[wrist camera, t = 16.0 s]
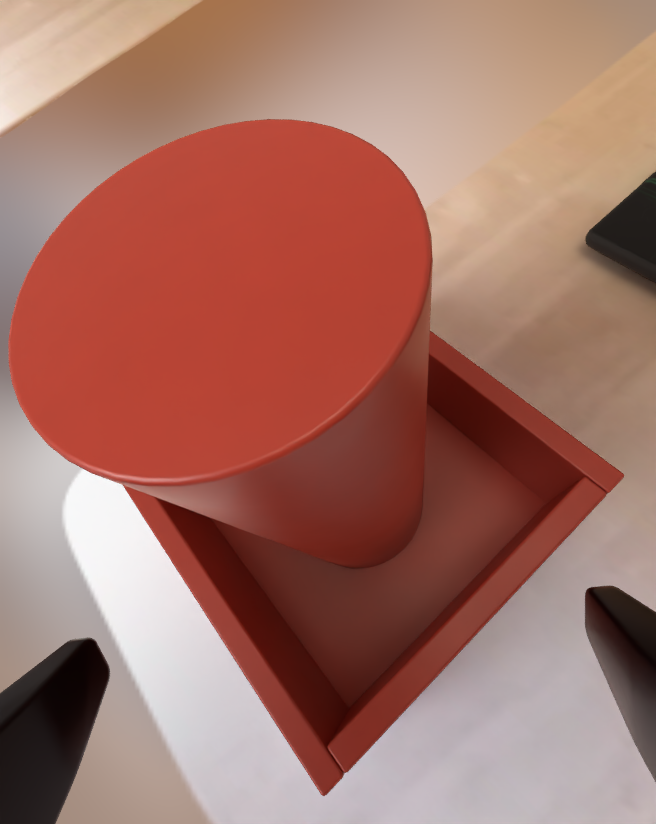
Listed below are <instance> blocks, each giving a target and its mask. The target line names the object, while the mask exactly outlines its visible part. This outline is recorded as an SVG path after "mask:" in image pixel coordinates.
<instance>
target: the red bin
mask: <svg viewBox="0 0 656 824" xmlns="http://www.w3.org/2000/svg"><path fill="white" fill-rule="evenodd" d="M623 477H624V474H623V473H621V472H620V471H619V470H617V469H616V468H615V467H613V466H612V465H611V464H609V463H608V462H607V461H605V460H604V459H602V458H601V457H600V456H598V455H597V454H596V453H594V452H593V451H592V450H590V449H589V448H588V447H586V446H585V445H584V444H582V443H581V442H580V441H578V440H577V439H576V438H574V437H573V436H571V435H570V434H569V433H567V432H566V431H565V430H563V429H562V428H561V427H559V426H558V425H557V424H555V423H554V422H553V421H551V420H550V419H549V418H547V417H546V416H545V415H543V414H542V413H540V412H539V411H538V410H536V409H535V408H534V407H532V406H531V405H530V404H528V403H527V402H526V401H524V400H523V399H522V398H520V397H519V396H518V395H516V394H515V393H514V392H512V391H511V390H509V389H508V388H507V387H505V386H504V385H503V384H501V383H500V382H499V381H497V380H496V379H495V378H493V377H492V376H491V375H489V374H488V373H487V372H485V371H484V370H483V369H481V368H480V367H478V366H477V365H476V364H474V363H473V362H472V361H470V360H469V359H468V358H466V357H465V356H464V355H462V354H461V353H460V352H458V351H457V350H456V349H454V348H453V347H452V346H450V345H449V344H447V343H446V342H445V341H443V340H442V339H441V338H439V337H438V336H437V335H435V334H434V333H433V332H431V331H430V336H429V361H428V386H427V411H426V435H425V460H424V485H423V507H422V515H421V519H420V523H419V525H418V528H417V531H416V532H415V534H414V536H413V538H412V539H411V541H410V542H409V543H408V545H407V546H406V547H405V548H404V549H403V550H402V551H401V552H400V553H399V554H397V555H396V556H395V557H393V558H392V559H390V560H388V561H386V562H384V563H382V564H379V565H377V566H373V567H368V568H347V567H342V566H339V565H336V564H333V563H330V562H327V561H325V560H322V559H319V558H317V557H314V556H311V555H309V554H306V553H303V552H301V551H298V550H295V549H293V548H290V547H287V546H285V545H282V544H279V543H277V542H274V541H271V540H269V539H266V538H263V537H261V536H258V535H255V534H253V533H250V532H247V531H245V530H242V529H239V528H237V527H234V526H231V525H229V524H226V523H223V522H221V521H218V520H215V519H213V518H210V517H207V516H205V515H202V514H199V513H197V512H194V511H191V510H189V509H186V508H183V507H181V506H178V505H175V504H173V503H170V502H167V501H165V500H162V499H159V498H157V497H154V496H151V495H149V494H146V493H143V492H141V491H138V490H135V489H133V488H130V487H127V486H125V485H123V486H124V488H125V489H126V491H127V492H128V494H129V496H130V497H131V499H132V500H133V502H134V503H135V505H136V507H137V508H138V510H139V511H140V513H141V514H142V516H143V517H144V519H145V521H146V522H147V524H148V525H149V527H150V528H151V530H152V531H153V533H154V535H155V536H156V538H157V539H158V541H159V542H160V544H161V545H162V547H163V549H164V550H165V552H166V553H167V555H168V556H169V558H170V560H171V561H172V563H173V564H174V566H175V567H176V569H177V570H178V572H179V574H180V575H181V577H182V578H183V580H184V581H185V583H186V584H187V586H188V588H189V589H190V591H191V592H192V594H193V595H194V597H195V598H196V600H197V602H198V603H199V605H200V606H201V608H202V609H203V611H204V613H205V614H206V616H207V617H208V619H209V620H210V622H211V623H212V625H213V627H214V628H215V630H216V631H217V633H218V634H219V636H220V637H221V639H222V641H223V642H224V644H225V645H226V647H227V648H228V650H229V651H230V653H231V655H232V656H233V658H234V659H235V661H236V662H237V664H238V665H239V667H240V669H241V670H242V672H243V673H244V675H245V676H246V678H247V680H248V681H249V683H250V684H251V686H252V687H253V689H254V690H255V692H256V694H257V695H258V697H259V698H260V700H261V701H262V703H263V704H264V706H265V708H266V709H267V711H268V712H269V714H270V715H271V717H272V718H273V720H274V722H275V723H276V725H277V726H278V728H279V729H280V731H281V733H282V734H283V736H284V737H285V739H286V740H287V742H288V743H289V745H290V747H291V748H292V750H293V751H294V753H295V754H296V756H297V757H298V759H299V761H300V762H301V764H302V765H303V767H304V768H305V770H306V771H307V773H308V775H309V776H310V778H311V779H312V781H313V782H314V784H315V785H316V787H317V789H318V790H319V792H320V793H321V795H323V796H325V795H327V794H328V793H329V792H330V790H331V789H332V788H333V787H334V786H335V785H336V784H337V783H338V782H339V781H340V780H341V779H342V778H343V775H344V773H346V772H348V771H349V770H350V769H351V768H352V767H353V766H354V765H355V764H356V763H357V762H358V761H359V759H360V758H361V757H362V756H363V755H364V754H365V753H366V752H367V751H368V750H369V749H370V748H371V747H372V746H373V744H374V743H375V742H376V741H377V740H378V739H379V738H380V737H381V736H382V735H383V734H384V733H385V732H386V731H387V730H388V728H389V727H390V726H391V725H392V724H393V723H394V722H395V721H396V720H397V719H398V718H399V717H400V716H401V715H402V713H403V712H404V711H405V710H406V709H407V708H408V707H409V706H410V705H411V704H412V703H413V702H414V701H415V700H416V699H417V697H418V696H419V695H420V694H421V693H422V692H423V691H424V690H425V689H426V688H427V687H428V686H429V685H430V684H431V682H432V681H433V680H434V679H435V678H436V677H437V676H438V675H439V674H440V673H441V672H442V671H443V670H444V669H445V668H446V666H447V665H448V664H449V663H450V662H451V661H452V660H453V659H454V658H455V657H456V656H457V655H458V654H459V653H460V651H461V650H462V649H463V648H464V647H465V646H466V645H467V644H468V643H469V642H470V641H471V640H472V639H473V638H474V637H475V635H476V634H477V633H478V632H479V631H480V630H481V629H482V628H483V627H484V626H485V625H486V624H487V623H488V622H489V620H490V619H491V618H492V617H493V616H494V615H495V614H496V613H497V612H498V611H499V610H500V609H501V608H502V607H503V606H504V604H505V603H506V602H507V601H508V600H509V599H510V598H511V597H512V596H513V595H514V594H515V593H516V592H517V591H518V589H519V588H520V587H521V586H522V585H523V584H524V583H525V582H526V581H527V580H528V579H529V578H530V577H531V576H532V575H533V573H534V572H535V571H536V570H537V569H538V568H539V567H540V566H541V565H542V564H543V563H544V562H545V561H546V560H547V558H548V557H549V556H550V555H551V554H552V553H553V552H554V551H555V550H556V549H557V548H558V547H559V546H560V545H561V544H562V542H563V541H564V540H565V539H566V538H567V537H568V536H569V535H570V534H571V533H572V532H573V531H574V530H575V529H576V527H577V526H578V525H579V524H580V523H581V522H582V521H583V520H584V519H585V518H586V517H587V516H588V515H589V514H590V513H591V511H592V510H593V509H594V508H595V507H596V506H597V505H598V504H599V503H600V502H601V501H602V500H603V499H604V498H605V496H606V494H607V493H609V492H610V491H611V490H612V489H613V488H614V487H615V486H616V485H617V484H618V483H619V482H620V481H621V480H622V479H623Z"/></svg>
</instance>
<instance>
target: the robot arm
mask: <svg viewBox="0 0 656 824" xmlns="http://www.w3.org/2000/svg"><path fill="white" fill-rule="evenodd" d="M585 628H586V632H587V636H588V639H589V641H590V644H591V646H592V648H593V650H594V653H595V655H596V657H597V659H598V662H599V664H600V666H601V669H602V671H603V673H604V675H605V678H606V680H607V682H608V684H609V687H610V689H611V691H612V693H613V696H614V698H615V700H616V703H617V705H618V707H619V709H620V712H621V714H622V716H623V718H624V721H625V723H626V725H627V727H628V730H629V732H630V734H631V736H632V738H633V740H634V743H635V745H636V746H637V748H638V750H639V752H640V754H641V756H642V758H643V760H644V762H645V764H646V765H647V767H648V769H649V771H650V773H651V774H652V776H653V778H654V780H655V782H656V612H655V611H653V610H652V609H650V608H648V607H647V606H645V605H644V604H642V603H641V602H639V601H638V600H636V599H634V598H633V597H631V596H630V595H628V594H627V593H625V592H624V591H622V590H620V589H619V588H617V587H614V586H601V587H591V588H588V589H587V590H586V593H585ZM109 677H110V669H109V665H108V663H107V661H106V659H105V657H104V655H103V654H102V652H101V650H100V648H99V646H98V644H97V642H96V641H95V640H94V639H92V638H80V639H73V640H70V641H68V642H67V643H65V644H64V645H63V646H61V647H60V648H59V649H57V650H56V651H55V652H53V653H52V654H51V655H50V656H48V657H47V658H46V659H44V660H43V661H42V662H41V663H39V664H38V665H37V666H35V667H34V668H33V669H31V670H30V671H29V672H27V673H26V674H25V675H24V676H22V677H21V678H20V679H18V680H17V681H16V682H14V683H13V684H12V685H11V686H9V687H8V688H7V689H5V690H4V691H3V692H1V693H0V824H55V823H56V821H57V819H58V816H59V814H60V812H61V810H62V807H63V805H64V803H65V800H66V798H67V796H68V793H69V791H70V789H71V786H72V784H73V781H74V779H75V776H76V774H77V771H78V769H79V766H80V763H81V760H82V757H83V755H84V752H85V749H86V746H87V743H88V740H89V737H90V734H91V731H92V729H93V726H94V723H95V720H96V717H97V714H98V711H99V708H100V705H101V702H102V699H103V697H104V694H105V691H106V688H107V685H108V682H109Z"/></svg>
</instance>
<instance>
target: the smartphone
mask: <svg viewBox="0 0 656 824" xmlns="http://www.w3.org/2000/svg"><path fill="white" fill-rule="evenodd" d="M586 244H587V245H588V246H589V247H591V248H592V249H594V250H596V251H598V252H600V253H602V254H603V255H605V256H607V257H609V258H611V259H613V260H614V261H616V262H618V263H620V264H622V265H624V266H625V267H627V268H629V269H631V270H633V271H635V272H636V273H638V274H640V275H642V276H644V277H646V278H647V279H649V280H651V281H653V282H655V283H656V172H655V173H653V174H652V175H651V176H650V177H648V178H647V179H646V180H645V181H644V182H643V183H642V184H641V185H640V186H639V187H638V188H637V189H636V190H634V191H633V192H632V193H631V194H630V195H629V196H628V197H627V198H625V199H624V200H623V201H622V202H621V203H620V204H619V205H618V206H616V207H615V208H614V209H613V210H612V211H611V212H610V213H609V214H607V215H606V216H605V217H604V218H603V219H602V220H601V221H600V222H599V223H597V224H596V225H595V226H594V227H593V228H592V229H591V230H590V231H589V232H588V234H587V235H586Z"/></svg>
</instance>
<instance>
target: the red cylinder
mask: <svg viewBox="0 0 656 824" xmlns="http://www.w3.org/2000/svg"><path fill="white" fill-rule="evenodd" d="M432 262H433V259H432V242H431V233H430V229H429V225H428V220H427V216H426V213H425V210H424V208H423V206H422V204H421V201H420V199H419V197H418V194H417V193H416V191H415V189H414V187H413V186H412V185H411V183H410V182H409V180H408V179H407V177H406V176H405V174H404V173H403V171H402V170H401V169H400V168H399V167H398V166H397V165H396V164H395V163H394V162H393V161H392V160H391V159H390V158H389V157H388V156H387V155H385V154H384V153H382V152H381V151H380V150H379V149H377V148H376V147H375V146H373V145H372V144H370V143H368V142H366V141H364V140H362V139H361V138H359V137H357V136H355V135H353V134H351V133H348V132H345V131H342V130H340V129H337V128H334V127H331V126H326V125H322V124H317V123H313V122H306V121H297V120H275V119H267V120H255V121H244V122H239V123H233V124H227V125H222V126H218V127H214V128H210V129H207V130H203V131H200V132H197V133H194V134H191V135H188V136H185V137H183V138H180V139H177V140H175V141H173V142H170V143H168V144H166V145H164V146H161V147H159V148H157V149H155V150H153V151H151V152H149V153H148V154H146V155H144V156H142V157H140V158H138V159H136V160H135V161H133V162H132V163H130V164H129V165H127V166H126V167H124V168H122V169H121V170H119V171H118V172H116V173H115V174H114V175H112V176H111V177H110V178H108V179H107V180H106V181H104V182H103V183H102V184H100V185H99V186H98V187H97V188H95V189H94V190H93V191H92V192H91V193H90V194H89V195H87V196H86V197H85V198H84V199H83V200H82V201H81V202H80V203H79V204H78V205H77V206H76V207H75V208H74V209H73V210H72V211H71V212H70V213H69V214H68V215H67V216H66V217H65V218H64V220H63V221H62V222H61V223H60V225H59V226H58V227H57V228H56V229H55V231H54V232H53V233H52V234H51V236H50V237H49V238H48V240H47V241H46V243H45V245H44V246H43V247H42V249H41V251H40V252H39V253H38V255H37V256H36V258H35V260H34V262H33V264H32V266H31V268H30V270H29V271H28V273H27V275H26V277H25V280H24V282H23V285H22V287H21V290H20V292H19V295H18V297H17V301H16V304H15V308H14V312H13V316H12V319H11V327H10V335H9V367H10V372H11V379H12V384H13V387H14V390H15V393H16V395H17V399H18V401H19V404H20V406H21V408H22V410H23V411H24V413H25V415H26V417H27V418H28V420H29V422H30V423H31V425H32V426H33V428H34V429H35V430H36V431H37V432H38V433H39V435H40V436H41V437H42V438H43V439H44V440H45V442H46V443H47V444H48V445H49V446H50V447H51V448H53V449H54V450H55V451H57V452H58V453H59V454H60V455H62V456H63V457H64V458H65V459H67V460H68V461H70V462H71V463H74V464H76V465H77V466H79V467H81V468H83V469H85V470H87V471H89V472H90V473H93V474H95V475H98V476H101V477H103V478H106V479H109V480H111V481H114V482H117V483H119V484H122V485H125V486H127V487H130V488H133V489H135V490H138V491H141V492H143V493H146V494H149V495H151V496H154V497H157V498H159V499H162V500H165V501H167V502H170V503H173V504H175V505H178V506H181V507H183V508H186V509H189V510H191V511H194V512H197V513H199V514H202V515H205V516H207V517H210V518H213V519H215V520H218V521H221V522H223V523H226V524H229V525H231V526H234V527H237V528H239V529H242V530H245V531H247V532H250V533H253V534H255V535H258V536H261V537H263V538H266V539H269V540H271V541H274V542H277V543H279V544H282V545H285V546H287V547H290V548H293V549H295V550H298V551H301V552H303V553H306V554H309V555H311V556H314V557H317V558H319V559H322V560H325V561H327V562H330V563H333V564H336V565H339V566H342V567H347V568H368V567H373V566H377V565H379V564H382V563H384V562H386V561H388V560H390V559H392V558H393V557H395V556H396V555H397V554H399V553H400V552H401V551H402V550H403V549H404V548H405V547H406V546H407V545H408V543H409V542H410V541H411V539H412V538H413V536H414V534H415V532H416V531H417V528H418V525H419V523H420V519H421V515H422V507H423V485H424V460H425V435H426V411H427V386H428V361H429V336H430V311H431V287H432Z"/></svg>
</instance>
